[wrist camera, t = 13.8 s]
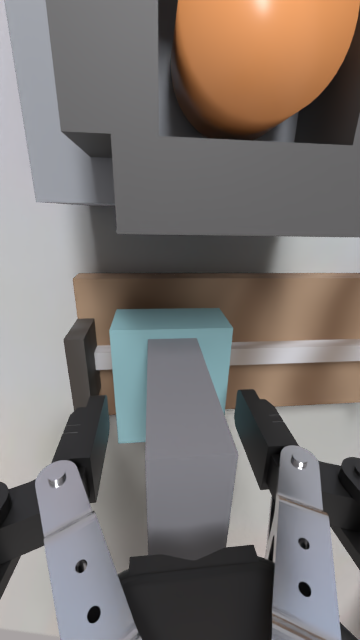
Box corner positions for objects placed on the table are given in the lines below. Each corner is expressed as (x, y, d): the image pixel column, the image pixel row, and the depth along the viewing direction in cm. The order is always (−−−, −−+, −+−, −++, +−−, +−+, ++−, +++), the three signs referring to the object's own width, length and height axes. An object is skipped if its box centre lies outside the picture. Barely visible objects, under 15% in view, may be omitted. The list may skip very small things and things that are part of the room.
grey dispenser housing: (309, 51, 14) (684, -324, 4) (283, 221, 18) (466, 238, 7) (72, 32, 13) (-185, -549, 3) (89, 218, 16) (-10, 231, 6)
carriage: (219, 308, 16) (307, 434, 7) (211, 403, 19) (269, 588, 10) (116, 309, 16) (68, 449, 7) (123, 408, 18) (95, 608, 9)
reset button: (311, -16, 7) (383, -117, 5) (288, 147, 8) (337, 124, 6) (171, -31, 7) (181, -149, 5) (170, 141, 8) (177, 116, 6)
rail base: (397, 273, 20) (463, 290, 16) (360, 390, 23) (405, 429, 19) (78, 273, 17) (56, 293, 13) (93, 402, 21) (80, 449, 17)
